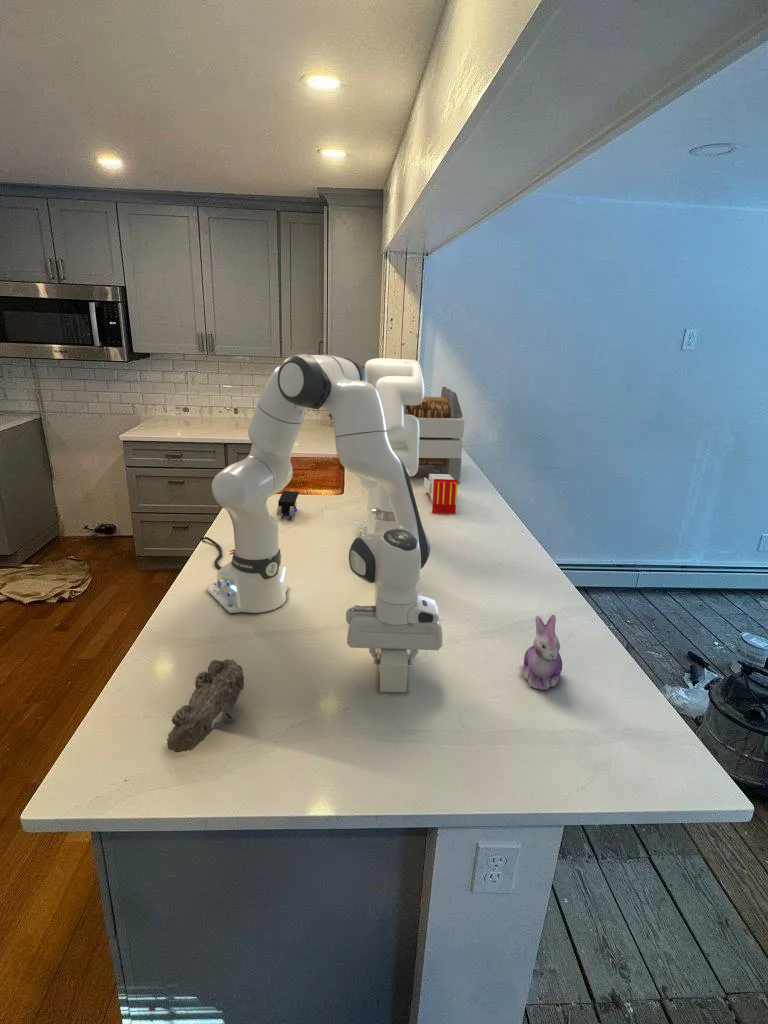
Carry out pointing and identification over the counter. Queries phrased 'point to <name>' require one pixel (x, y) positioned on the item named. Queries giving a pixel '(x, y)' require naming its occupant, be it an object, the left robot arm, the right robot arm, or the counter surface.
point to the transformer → (439, 432)
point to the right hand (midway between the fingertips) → (387, 570)
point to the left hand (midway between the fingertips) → (392, 663)
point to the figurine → (543, 656)
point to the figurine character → (287, 504)
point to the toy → (442, 492)
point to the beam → (393, 670)
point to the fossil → (206, 705)
